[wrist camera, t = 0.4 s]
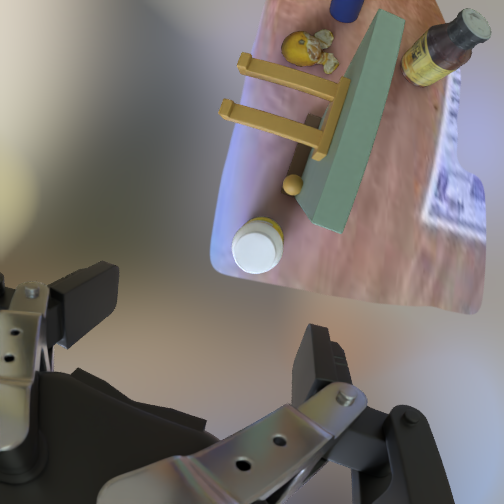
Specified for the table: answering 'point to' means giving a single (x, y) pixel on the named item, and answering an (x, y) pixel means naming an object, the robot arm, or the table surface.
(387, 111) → the table surface
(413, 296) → the table surface
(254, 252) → the pill bottle
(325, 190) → the green panel
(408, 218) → the table surface
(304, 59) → the fruit
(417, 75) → the sauce bottle
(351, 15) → the t-handle plunger
